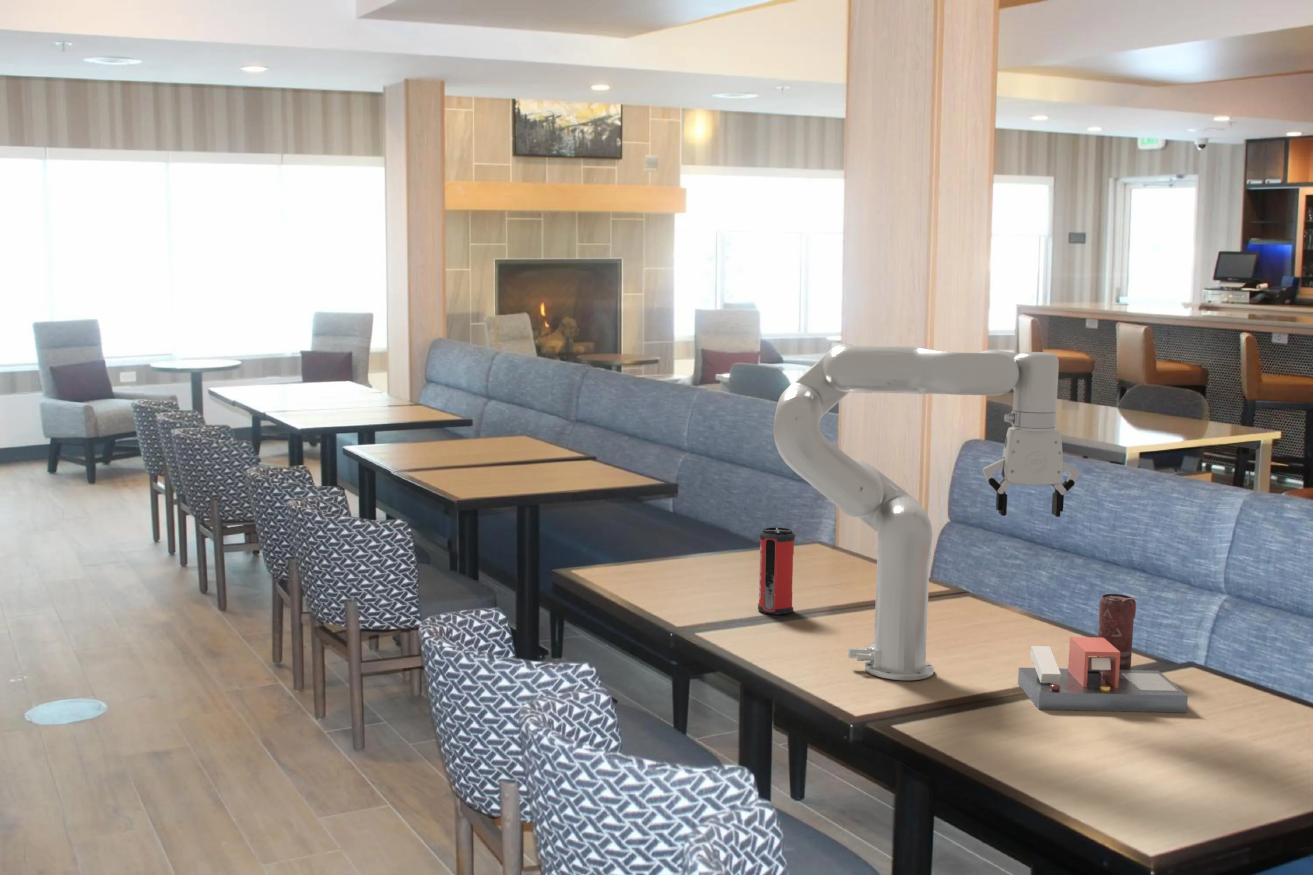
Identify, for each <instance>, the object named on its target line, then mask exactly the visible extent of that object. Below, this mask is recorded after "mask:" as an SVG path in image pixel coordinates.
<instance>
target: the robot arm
mask: <svg viewBox="0 0 1313 875" xmlns="http://www.w3.org/2000/svg"><path fill="white" fill-rule="evenodd" d="M1059 362H1060V361H1059V357H1058V356H1057V355H1056V354H1054V353H1052V352H1046V351H1045V352H1043V351H1042V352H1041V351H1024V352H1020V353H1019V352H1010V351H1004V350H998V349H986V350H982V351H980V352H957V351H956V352H954V351H944V350H935V349H931V348H927V347H919V346H911V345H909V346H902V345H901V346H898V345H897V346H890V345H889V346H888V345H887V346H885V345H884V346H878V345H877V346H875V345H874V346H872V345H868V346H867V345H853V344H848V343H842V344H838V345H836V346H834V347H832V348H831V349H830V350H828V351H827V352H826V353H825V354H824V355H823V356H822V357H820V359H819V360H818V361H816V363H814V364H813V365H811V367H810V368H808V369H807V370H806V371H805V372H804V373H803V374H802V375H800V377H798V378H797V379H796V380H795V381H794V382H792V384H790V385H789V386H788V387H787V388H785V389H784V391H782V393H781V394H780V396H779V397H778V398H779V399H778V402H777V405H776V408H775V414H774V418H773V419H774V420H773V438H774V439H773V440H774V443H775V447H776V449H777V452H778V453H779V456H780V457H781V458H782V460H783V462H784V463H785V464H786V465H787V466H788V467H789V468H790V469H791V470H792V471H793V472H795V473H796V474H797V475H798V476H800V478H802V479H803V480H804V481H805V482H807V484H809V485H810V486H811V487H812V488H814V489H815V490H816V491H818V492H819V493H820V494H821V495H823V497H825V498H826V499H827V500H828V501H830V503H832V504H833V505H835V506H836V507H837V508H838V510H840V511H841V512H842V513H844V514H845V515H848V516H849V517H852V518H858V519H859V520H861V521H862V522H863V523H865V525H867V526H868V527H870V528H871V529H873V530H874V531H875V532H876V533H877V558H876V577H875V578H876V579H875V580H876V581H875V607H874V608H875V611H874V613H875V614H874V634H873V635H874V638H873V642H872V641H871V642H870V646H865V647H864V648H859V647H848V651H847V653H848V655H847V656H848V659H856V662H857V661H858V662H864V670H865V671H866V672H867V673H869V674H870V675H872V676H875V677H878V678H882V679H887V680H894V681H920V680H924V679H927V678H928V679H929V678H930V677H932V676H933V675H934V670H935V668H934V666H933V664H932V663H930V661H927V660H926V658H927V657H926V656H927V639H928V637H927V636H928V634H927V633H928V613H929V610H928V609H929V607H928V606H929V580H930V565H931V564H930V563H931V553H932V546H933V529H932V524H931V521H930V520H931V519H930V518H929V516H928V514H927V512H926V511H925V509H924V507H923V506H922V504H921V503H920V502H919V501H918V500H917V499H915V497H913V496H912V495H911V494H909V493H908V492H906V491H905V489H903V488H902V487H900V486H899V485H897V483H895V482H894V481H893V480H892V479H890V478H888V477H887V476H886V475H885V474H883V473H882V472H881V471H880V470H878V469H877V468H876V467H874V466H873V465H871V464H870V463H868V462H864V461H861V460H854V459H853V458H851V457H850V456H849V455H848V454H846V453H845V452H844V451H843V450H842V449H841V448H839V447H838V446H837V445H835V444H834V443H833V442H831V441H830V440H829V439H827V438H826V437H825V436H824V434H823V433H822V431H821V428H820V424H821V421H822V418H823V416H824V415H826V414H827V413H828V412H830V410H831V409H832V408H834V406H837V404H838V403H839V402H840V401H841V400H843V399H844V398H845V397H846V396H847V395H848V394H849V393H853V394H855V393H862V394H866V393H867V394H869V393H870V394H872V393H874V394H875V393H877V394H880V393H881V394H911V395H914V394H915V395H955V396H956V395H957V396H958V395H959V396H1001V395H1004V394H1007V393H1009V392H1010V391H1011V390H1013V396H1012V397H1013V399H1012V400H1013V401H1012V410H1011V412H1010V413H1007V414H1004V416H1003V417H1004V418H1003V420H1004V422H1005V423H1006V422H1007V423H1010V425H1011V426H1010V427H1008V428H1007V432H1006V436H1005V440H1004V446H1003V451H1002V458H1001V459H999V460H996V461H995V462H993V463H991V464H988V465H986V466H984V467H983V468H982V473H983V475H984V477H985V479H986V481H987V483H988V485H989V486H991V487H992V489H993V490H994V491H996V492H995V493H996V499H995V500H996V501H995V510H996V511H997V512H998V514H999V515H1001V516H1003V517H1005V516H1006V515H1007V510H1008V494H1007V493H1006V491H1007V490H1008V489H1009V488H1010V487H1011V485H1016V486H1017V485H1018V486H1019V485H1020V486H1051V487H1052V488H1053V489H1054V492H1052V495H1051V496H1052V498H1051V514H1052V515H1054V516H1055V517H1057V518H1060V517H1061V512H1063V511H1064V501H1065V500H1064V499H1065V495H1066V494H1067V492H1068V491H1069V490H1071V489H1072V488H1073V487H1074V486H1075V484H1076V481H1078V478H1079V477H1080V475H1081V470H1079V469H1078V468H1076V467H1074V466H1073V465H1070V464H1069V463H1068V462H1065V461H1064V459H1063V458H1064V457H1063V440H1062V433H1061V430H1060V429H1058V428H1056V425H1057V404H1058V402H1057V401H1058V383H1059V371H1060V370H1059V368H1060V367H1059V366H1060V363H1059ZM998 470H1000V471H1001V479H1000V480H999V481H997V479H995V477H994V473H995V472H997V471H998ZM1064 471H1065V472H1067V473H1069V475H1068V477H1067V478H1066V479H1064V481H1063V477H1064V476H1063V474H1064ZM1062 481H1063V482H1062Z"/></svg>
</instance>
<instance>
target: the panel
mask: <svg viewBox="0 0 1313 875" xmlns="http://www.w3.org/2000/svg"><path fill="white" fill-rule="evenodd" d="M1058 668H1059V671H1060V673H1061V676H1060V682H1059V683H1040V680H1039V677H1038V675H1037V672H1036V669H1035V667H1018V677H1017V684H1018V686H1020V688H1021V690H1022V691H1023V692H1024V693H1025V694H1026V696H1027V697H1028V698H1029V700H1030V701H1031V702H1032V703H1033V705H1034V706H1035V707H1036V708H1037V710H1046V711H1047V710H1051V711H1052V710H1053V711H1055V710H1056V711H1094V712H1096V711H1098V712H1099V711H1100V712H1101V711H1102V712H1134V713H1135V712H1136V713H1137V712H1139V713H1140V712H1142V713H1146V712H1147V713H1149V712H1150V713H1183V714H1184V713H1187V712H1188V698H1189V695H1187V693H1186V692H1184V691H1183V690H1182V689H1181V688H1179V686H1177V684H1175V683H1174V682H1172V681H1171V680H1170V679H1169V678H1168V677H1166V676H1165V675H1164V674H1163V673H1161V672H1160V670H1153V669H1152V670H1146V669H1145V670H1143V669H1130V670H1119V684H1118V688H1115V687H1114V686H1113V685H1112V684H1110V683H1109V682H1108V681H1107V680H1106V679H1105V678H1104V677H1103V676H1102V675H1101V673H1100V672H1088V674H1087V687H1083V686H1082V685H1081V684H1080V683H1079V682H1078V681H1077V680H1076V679H1075V678H1074V677H1073V676H1072V675H1071V674H1070V673H1069V672H1068V668H1060V667H1058Z"/></svg>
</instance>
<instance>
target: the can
mask: <svg viewBox="0 0 1313 875" xmlns="http://www.w3.org/2000/svg"><path fill="white" fill-rule="evenodd" d="M1098 610H1099V611H1098V612H1099V613H1098V629H1097V631H1098V632H1097V638H1105V639H1106V640H1107V641H1108V642H1109V643H1110V644H1112V645H1113V646H1114V647H1115V648H1116V649H1117V650H1118V651H1120V667H1119V670H1132V669H1131V668H1132V654H1133V652H1132V651H1133V638H1134V637H1133V635H1134V623H1135V622H1134V621H1135V618H1136V611H1137V601H1136V600H1135V599H1134V598H1133V597H1131V596H1129V595H1124V594H1119V593H1105V594H1103V595H1102V596H1101V598H1100V599H1099V609H1098ZM1096 657H1099V656H1096Z"/></svg>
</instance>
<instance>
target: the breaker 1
mask: <svg viewBox="0 0 1313 875" xmlns="http://www.w3.org/2000/svg"><path fill="white" fill-rule="evenodd" d="M1030 647H1031V648H1030V652H1029V654H1030V658H1031V660H1032V664H1033V666H1034V667H1033V668H1035V669H1036V672H1037V675H1038V677H1039V680H1040V683H1059V682H1060V676H1061V673H1060V671H1059V668H1060V667H1059V665H1058V663H1057V661H1056V658H1055V655H1054V654H1053V650H1052V649H1051V646H1048V645H1047V646H1046V645H1045V646H1042V645H1031V646H1030Z"/></svg>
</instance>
